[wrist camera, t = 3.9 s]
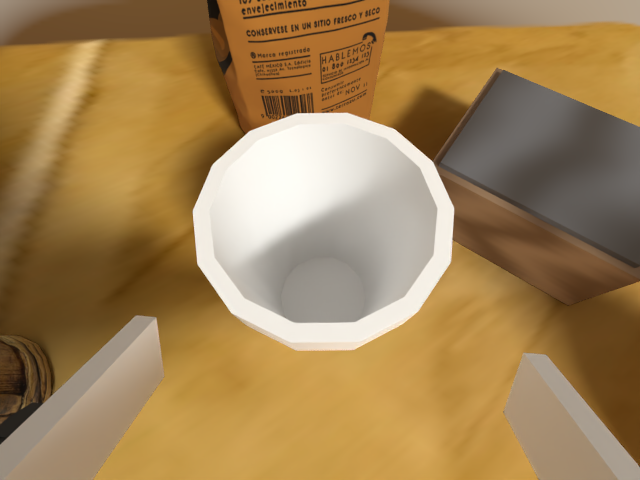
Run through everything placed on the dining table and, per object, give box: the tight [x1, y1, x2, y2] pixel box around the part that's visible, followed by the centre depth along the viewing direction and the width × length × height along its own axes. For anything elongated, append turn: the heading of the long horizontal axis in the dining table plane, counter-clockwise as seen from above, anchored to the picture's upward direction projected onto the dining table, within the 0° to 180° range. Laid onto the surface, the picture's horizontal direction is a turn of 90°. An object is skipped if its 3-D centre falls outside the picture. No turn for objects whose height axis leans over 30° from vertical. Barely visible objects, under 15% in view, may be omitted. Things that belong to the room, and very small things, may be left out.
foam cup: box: [193, 113, 454, 350], centre depth 18 cm, size 10×9×13 cm
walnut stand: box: [432, 68, 640, 305], centre depth 24 cm, size 13×11×6 cm
